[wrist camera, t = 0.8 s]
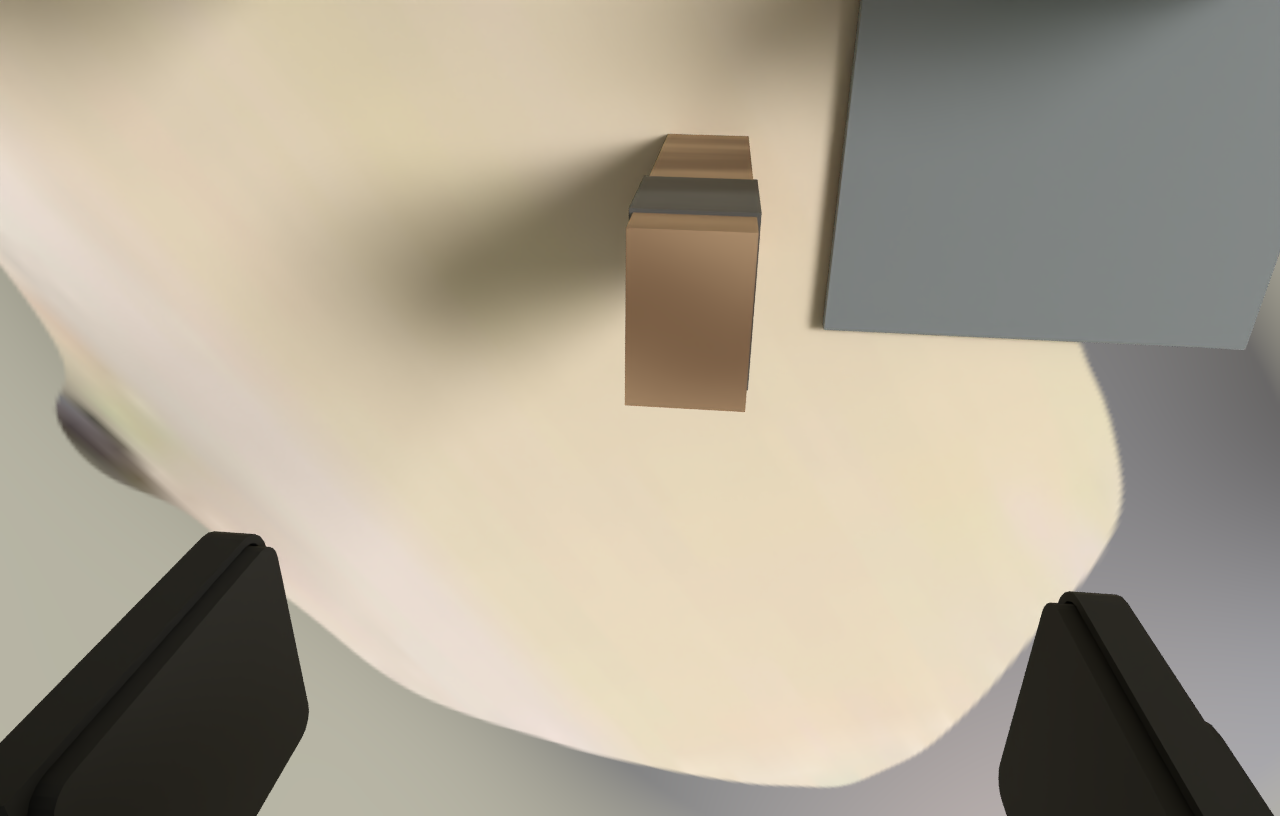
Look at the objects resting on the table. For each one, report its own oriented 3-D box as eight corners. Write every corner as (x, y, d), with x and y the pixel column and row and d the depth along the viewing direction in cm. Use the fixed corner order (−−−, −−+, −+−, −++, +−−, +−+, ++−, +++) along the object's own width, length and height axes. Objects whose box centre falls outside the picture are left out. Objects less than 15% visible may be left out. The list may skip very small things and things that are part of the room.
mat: (877, -142, 27) (879, -145, 27) (1406, -140, 26) (1420, -143, 26) (822, 324, 35) (824, 329, 34) (1236, 343, 33) (1245, 349, 33)
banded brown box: (665, 131, 32) (621, 223, 19) (751, 133, 32) (763, 228, 19) (662, 253, 34) (620, 408, 21) (743, 257, 34) (748, 415, 21)
